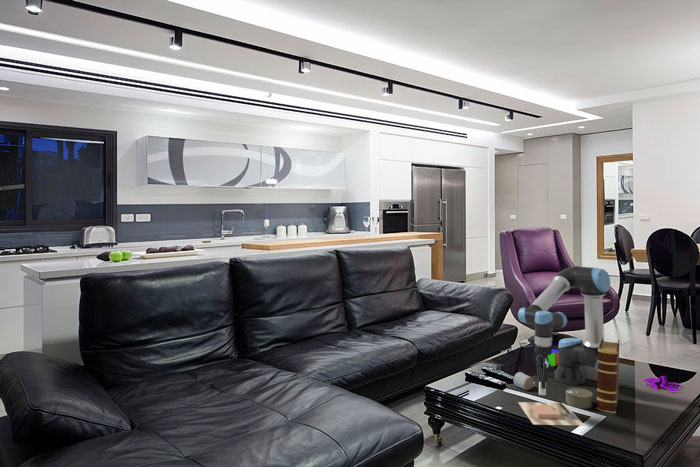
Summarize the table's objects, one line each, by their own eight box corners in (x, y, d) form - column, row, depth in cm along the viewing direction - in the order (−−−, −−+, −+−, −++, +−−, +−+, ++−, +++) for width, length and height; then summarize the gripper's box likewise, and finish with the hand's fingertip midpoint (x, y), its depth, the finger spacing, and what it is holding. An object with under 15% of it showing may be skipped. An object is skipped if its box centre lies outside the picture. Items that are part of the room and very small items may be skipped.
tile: (553, 405, 226) (560, 414, 216) (552, 409, 226) (560, 418, 216) (531, 405, 227) (538, 414, 217) (531, 409, 227) (538, 418, 217)
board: (563, 405, 233) (563, 403, 233) (584, 428, 210) (584, 425, 210) (517, 404, 235) (517, 402, 235) (533, 427, 211) (533, 424, 211)
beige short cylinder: (596, 412, 226) (596, 397, 226) (568, 410, 228) (569, 396, 228) (588, 401, 238) (588, 388, 238) (562, 400, 240) (562, 386, 240)
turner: (564, 404, 231) (564, 403, 231) (577, 419, 216) (577, 417, 215) (556, 404, 232) (556, 402, 232) (569, 419, 216) (569, 417, 216)
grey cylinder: (524, 392, 251) (525, 377, 250) (512, 386, 258) (513, 372, 258) (539, 388, 256) (539, 374, 255) (527, 383, 263) (527, 369, 263)
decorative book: (615, 416, 222) (617, 351, 220) (596, 412, 226) (597, 349, 224) (618, 399, 241) (619, 340, 239) (600, 396, 245) (601, 337, 243)
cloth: (644, 377, 272) (644, 367, 272) (684, 385, 261) (684, 374, 260) (637, 389, 255) (638, 378, 254) (680, 398, 243) (680, 386, 243)
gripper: (530, 340, 231) (529, 389, 233) (539, 348, 218) (538, 399, 220) (546, 341, 231) (545, 389, 232) (556, 349, 218) (555, 400, 219)
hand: (542, 394), depth 226 cm, fingers closed
